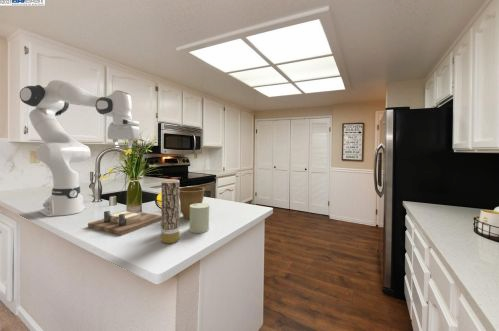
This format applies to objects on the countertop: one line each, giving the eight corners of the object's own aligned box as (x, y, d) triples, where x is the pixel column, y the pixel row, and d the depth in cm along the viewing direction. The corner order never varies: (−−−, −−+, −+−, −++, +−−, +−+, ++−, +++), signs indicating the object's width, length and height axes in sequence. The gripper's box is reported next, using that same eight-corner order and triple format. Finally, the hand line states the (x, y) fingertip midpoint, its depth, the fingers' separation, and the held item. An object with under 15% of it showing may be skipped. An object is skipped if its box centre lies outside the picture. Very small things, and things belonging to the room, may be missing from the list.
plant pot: (197, 212, 132) (198, 185, 131) (208, 218, 120) (209, 189, 119) (172, 215, 124) (172, 187, 122) (181, 223, 112) (181, 192, 110)
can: (198, 224, 110) (198, 201, 110) (213, 228, 106) (213, 203, 105) (185, 230, 102) (185, 205, 101) (200, 234, 98) (200, 208, 97)
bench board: (87, 227, 102) (87, 212, 102) (132, 214, 125) (132, 201, 124) (121, 235, 94) (121, 219, 94) (162, 219, 116) (162, 206, 116)
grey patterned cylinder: (173, 245, 87) (173, 182, 85) (157, 243, 88) (157, 181, 86) (182, 238, 93) (182, 179, 91) (167, 236, 95) (167, 178, 93)
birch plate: (108, 221, 106) (108, 214, 106) (123, 216, 113) (123, 210, 113) (126, 224, 102) (126, 218, 101) (140, 219, 109) (140, 214, 109)
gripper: (103, 121, 119) (104, 147, 120) (131, 121, 111) (131, 148, 112) (114, 123, 125) (115, 147, 126) (141, 122, 117) (141, 148, 118)
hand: (123, 148), depth 119 cm, fingers open, 8 cm apart
